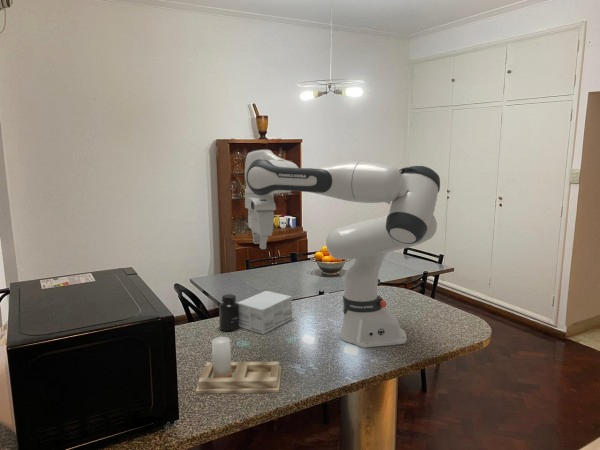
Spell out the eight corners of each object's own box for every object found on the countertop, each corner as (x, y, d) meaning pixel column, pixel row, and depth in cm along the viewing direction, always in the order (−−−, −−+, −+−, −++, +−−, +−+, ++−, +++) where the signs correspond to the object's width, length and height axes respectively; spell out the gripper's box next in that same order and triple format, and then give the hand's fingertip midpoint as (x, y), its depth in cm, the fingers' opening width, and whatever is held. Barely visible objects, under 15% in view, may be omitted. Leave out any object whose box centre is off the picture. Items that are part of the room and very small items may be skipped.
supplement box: (266, 312, 175) (265, 290, 174) (292, 319, 167) (292, 296, 166) (236, 326, 162) (235, 302, 160) (263, 334, 154) (262, 309, 152)
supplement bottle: (237, 331, 157) (236, 299, 155) (217, 331, 157) (217, 298, 155) (239, 324, 164) (239, 293, 162) (221, 324, 164) (221, 293, 162)
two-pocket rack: (281, 368, 130) (281, 359, 129) (278, 392, 117) (278, 382, 116) (206, 369, 130) (206, 360, 129) (195, 393, 117) (195, 383, 117)
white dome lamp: (233, 372, 126) (231, 336, 124) (230, 382, 121) (228, 344, 119) (215, 373, 126) (213, 336, 124) (211, 382, 121) (209, 344, 119)
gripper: (243, 199, 146) (243, 241, 148) (256, 205, 127) (256, 252, 129) (261, 199, 148) (262, 240, 150) (277, 205, 129) (277, 251, 131)
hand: (259, 246), depth 139 cm, fingers open, 8 cm apart
